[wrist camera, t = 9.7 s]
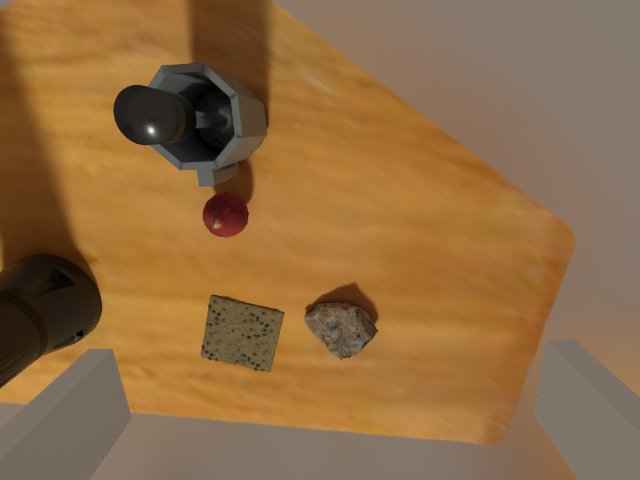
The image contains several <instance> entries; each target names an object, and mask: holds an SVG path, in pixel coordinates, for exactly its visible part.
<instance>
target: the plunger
mask: <svg viewBox="0 0 640 480" xmlns="http://www.w3.org/2000/svg"><path fill="white" fill-rule="evenodd" d="M114 118H115V122H116V124H117V126H118V128H119V130H120V131H121V132H122V134H123V135H124V136H125V137H126V138H128V139H129V140H130V141H132V142H134V143H137V144H140V145H156V144H167V143H178V142H183V141H185V140H187V139H189V138H190V137H191V136H192V135H193V133H194V131H195V129H197V131H198V133H199V135H200V136H201V138H202V139H203V140H204V141H205V142H206V143H207V144H209V145H210V146H212V147H215V148H218V149H224V148H225V147H226V146H227V145H228V143H229V142H230V141H231V139H232V138H233V137H234V136H235V131H234V123H233V115H232V107H231V99H230V97H229V96H228V95H227V94H226V93H225V92H223V91H216V92H212V93H209V94H207V95H206V96H204V97H203V98H202V99H201V100H200V102H199V103H198V105H197V107H196V110H195V109H194V107H193V106H192V104H191V103H190V102H189V100H188V99H186V98H185V97H184V96H182V95H180V94H178V93H174V92H169V91H165V90H160V89H156V88H151V87H147V86H142V85H132V86H129V87H127V88H125V89H123V90H122V91H121V92H120V93H119V94H118V96H117V98H116V100H115V103H114Z"/></svg>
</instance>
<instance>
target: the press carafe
mask: <svg viewBox="0 0 640 480" xmlns="http://www.w3.org/2000/svg"><path fill="white" fill-rule="evenodd" d="M148 87H151V88H156V89H160V90H165V91H169V92H174V93H178V94H180V95H182V96H184V97H185V98H186V99H188V100H189V102H190V103H191V104H192V106H193V107H194V109H195V110H196V107H197V105H198V103H199V102H200V100H201V99H202V98H203V97H204V96H206V95H207V94H209V93H212V92H216V91H223V92H225V93H226V94H227V95H228V96H229V97H230V99H231V107H232V115H233V123H234V131H235V136H234V137H233V138H232V139H231V141H230V142H229V143H228V145H227V146H226V147H225V148H224V149H218V148H215V147H212V146H210V145H209V144H207V143H206V142H205V141H204V140H203V139H202V138H201V136H200V135H199V133H198V131H197V129H195V131H194V133H193V135H192V136H191V137H190V138H189V139H187V140H185V141H183V142H178V143H167V144H156V145H150V146H152V147H153V148H154V149H155V150H156V151H158V152H159V153H160V154H161V155H162V156H163V157H165V158H166V159H167V160H168V161H169V162H171V163H172V164H173V165H174V166H175V167H177V168H178V169H179V170H196V169H197V173H198V180H199V186H200V187H202V186H215V185H218V184H220V183H222V182H224V181H226V180H228V179H230V178H232V177H234V176H236V175H238V174H239V166H238V162H239V161H241V160H244V159H247V158H249V157H250V156H251V155H252V153H253V152H254V151H255V150H257V148H258V147H259V146H260V145H261V143H262V142H263V140H264V139H265V137H266V136H267V116H266V112H265V108H264V103H263V102H262V101H261V100H260V99H259V98H258V97H257V96H256V95H255V94H254V93H253V92H252V91H251V90H250V89H248V88H247V87H246V86H245V85H244V84H243V83H242V82H241V81H239V80H237V79H235V78H233V77H231V76H229V75H227V74H225V73H223V72H221V71H219V70H217V69H215V68H213V67H211V66H209V65H207V64H205V63H192V64H178V65H163V66H161V67H160V69H159V70H158V72H157V73H156V75H155V76H154V78H153V79H152V81H151V82H150V84H149V85H148ZM216 168H217V169H216Z"/></svg>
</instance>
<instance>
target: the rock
mask: <svg viewBox="0 0 640 480" xmlns="http://www.w3.org/2000/svg"><path fill="white" fill-rule="evenodd" d="M305 323H306V325H307V326H308V328H309V330H310V331H311V332H312V333H313V334H314V335H315V336H316V338H318V339H320V340H321V342H322V343H324V344H325V345H326V346H327V347H326V348H327V350H328V351H329V352H331V353H332V354H334V355H335V356H337V357H338V358H340V359H341V360H342V358H347V357H349V358H350V357H351V356H354V355H356V354H357V353H359V352H360V351H361V350H362V349H363V347H364V346H365V345H366V344H367V343H368V342H369V341H371V340H372V339H373V338H374V336H375V335H376V333H377V332H378V330H377V329H376V327H375V326H374V322H373V321H372V319H371V318H370V316H369V314H368V313H367V312H366V311H364V310H363V309H362V308H360V307H357V306H351V305H350V304H348V303H343V304H341V303H337V302H336V303H320V304H318V305H317V306H316V307H315V309H313V311H312V312H310V313H308V314H306V315H305Z"/></svg>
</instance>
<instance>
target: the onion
mask: <svg viewBox="0 0 640 480" xmlns="http://www.w3.org/2000/svg"><path fill="white" fill-rule="evenodd" d="M248 215H249V213H248V209H247V206H246V205H245V203H244V202H243V200H242V199H240V198H239V197H238V196H236V195H234V194H230V193H222V194H217V195H214V196H213V197H212V198H211V199H210V200H208V201H207V202H206V205H205V207H204V210H203V221H204V223H205V226H206V227H207V229H208V230H209V231H210V232H211V233H212V234H214V235H216V236H219V237H226V238H227V237H231V236H235V235H237V234H238V233H240V232H241V231H243V229H244V228H245V226H246V225H247V223H248Z"/></svg>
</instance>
